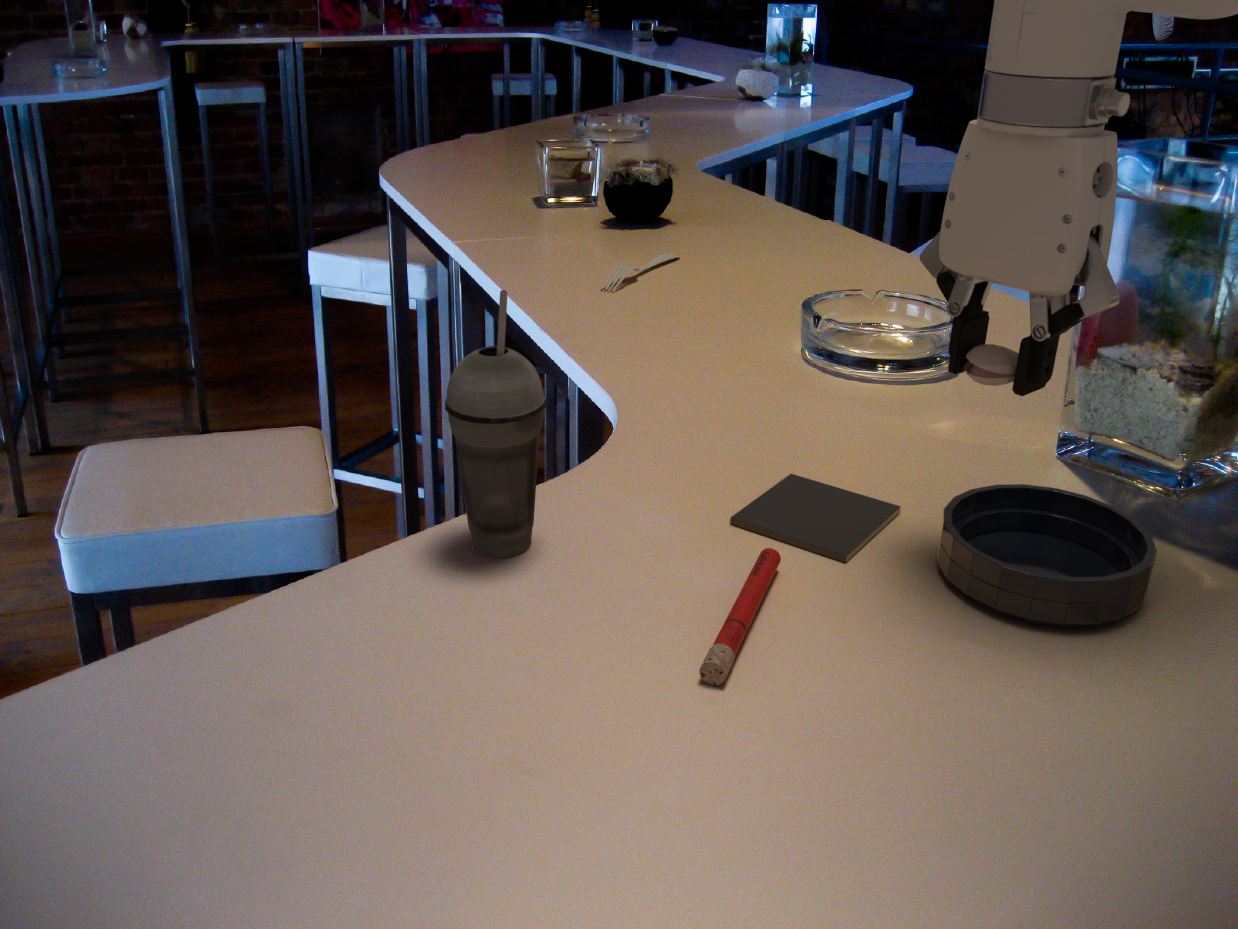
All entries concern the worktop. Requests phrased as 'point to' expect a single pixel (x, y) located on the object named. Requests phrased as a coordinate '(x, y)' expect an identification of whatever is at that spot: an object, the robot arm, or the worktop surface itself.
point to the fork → (635, 269)
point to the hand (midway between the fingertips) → (996, 377)
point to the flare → (739, 618)
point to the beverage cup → (497, 442)
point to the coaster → (816, 517)
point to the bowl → (1045, 554)
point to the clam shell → (991, 364)
